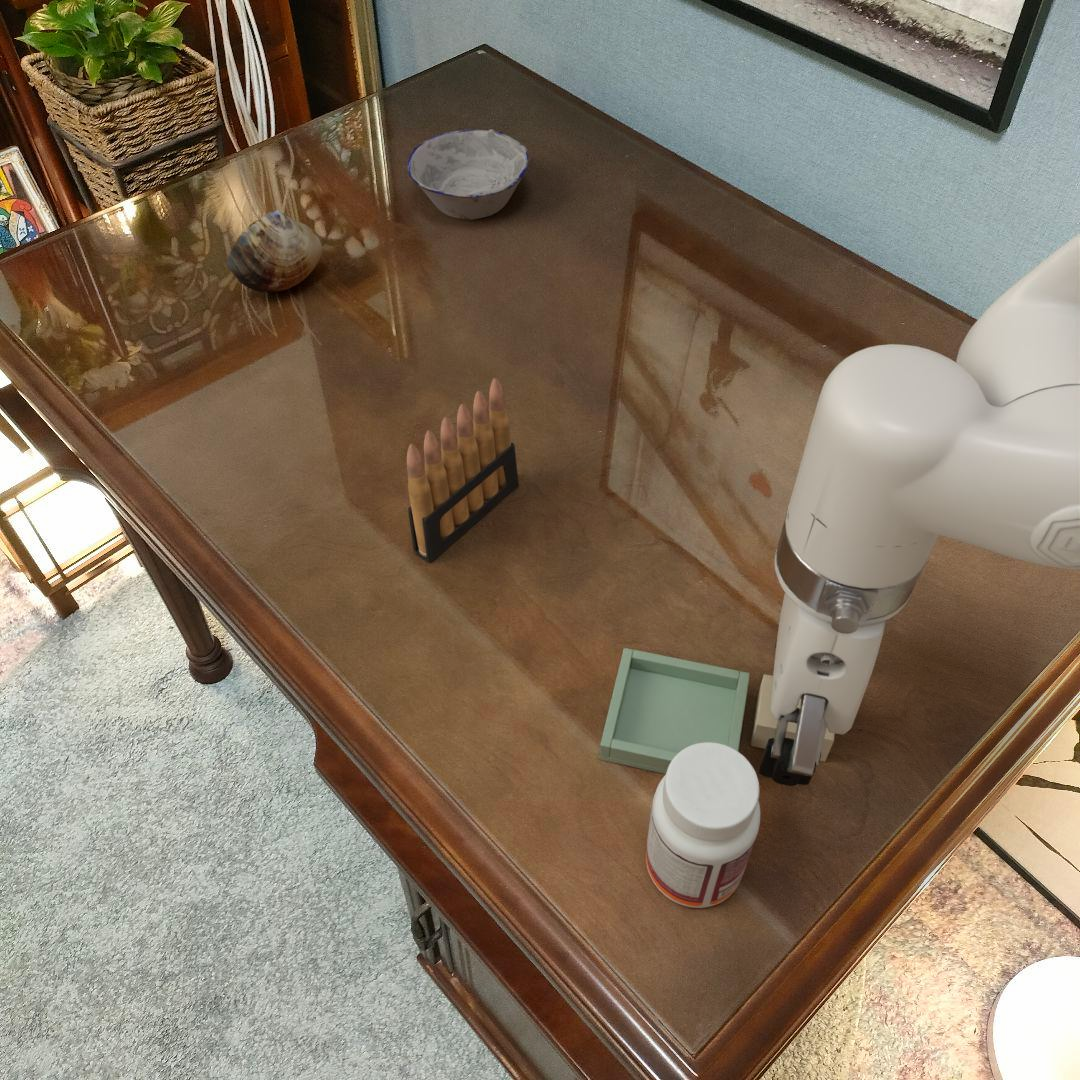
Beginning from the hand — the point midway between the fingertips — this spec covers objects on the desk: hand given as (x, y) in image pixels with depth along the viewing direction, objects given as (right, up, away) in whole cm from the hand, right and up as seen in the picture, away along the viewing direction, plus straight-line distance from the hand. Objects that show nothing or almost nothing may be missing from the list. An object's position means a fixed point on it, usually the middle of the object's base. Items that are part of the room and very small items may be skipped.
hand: (790, 711), depth 68 cm
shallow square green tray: (-8, -1, +2) cm, 8 cm away
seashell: (-43, +37, +34) cm, 66 cm away
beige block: (0, -1, +2) cm, 2 cm away
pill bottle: (-7, -9, -4) cm, 12 cm away
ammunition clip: (-23, +13, +14) cm, 30 cm away
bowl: (-24, +49, +43) cm, 70 cm away
